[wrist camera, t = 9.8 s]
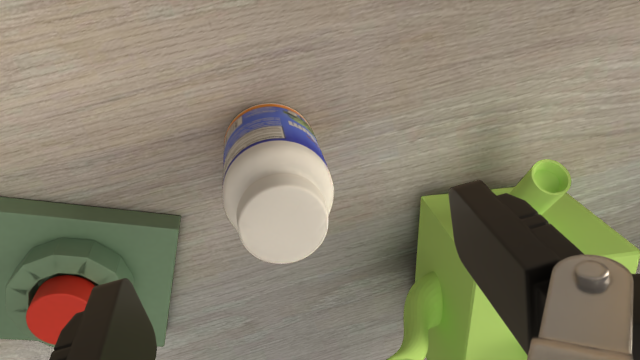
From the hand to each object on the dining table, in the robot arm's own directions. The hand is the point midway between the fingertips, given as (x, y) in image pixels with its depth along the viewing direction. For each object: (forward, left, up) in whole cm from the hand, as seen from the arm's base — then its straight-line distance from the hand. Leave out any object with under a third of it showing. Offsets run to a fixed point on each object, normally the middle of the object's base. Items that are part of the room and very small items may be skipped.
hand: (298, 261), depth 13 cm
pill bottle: (+1, -4, -19) cm, 19 cm away
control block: (-9, -14, -19) cm, 25 cm away
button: (-9, -14, -15) cm, 23 cm away
